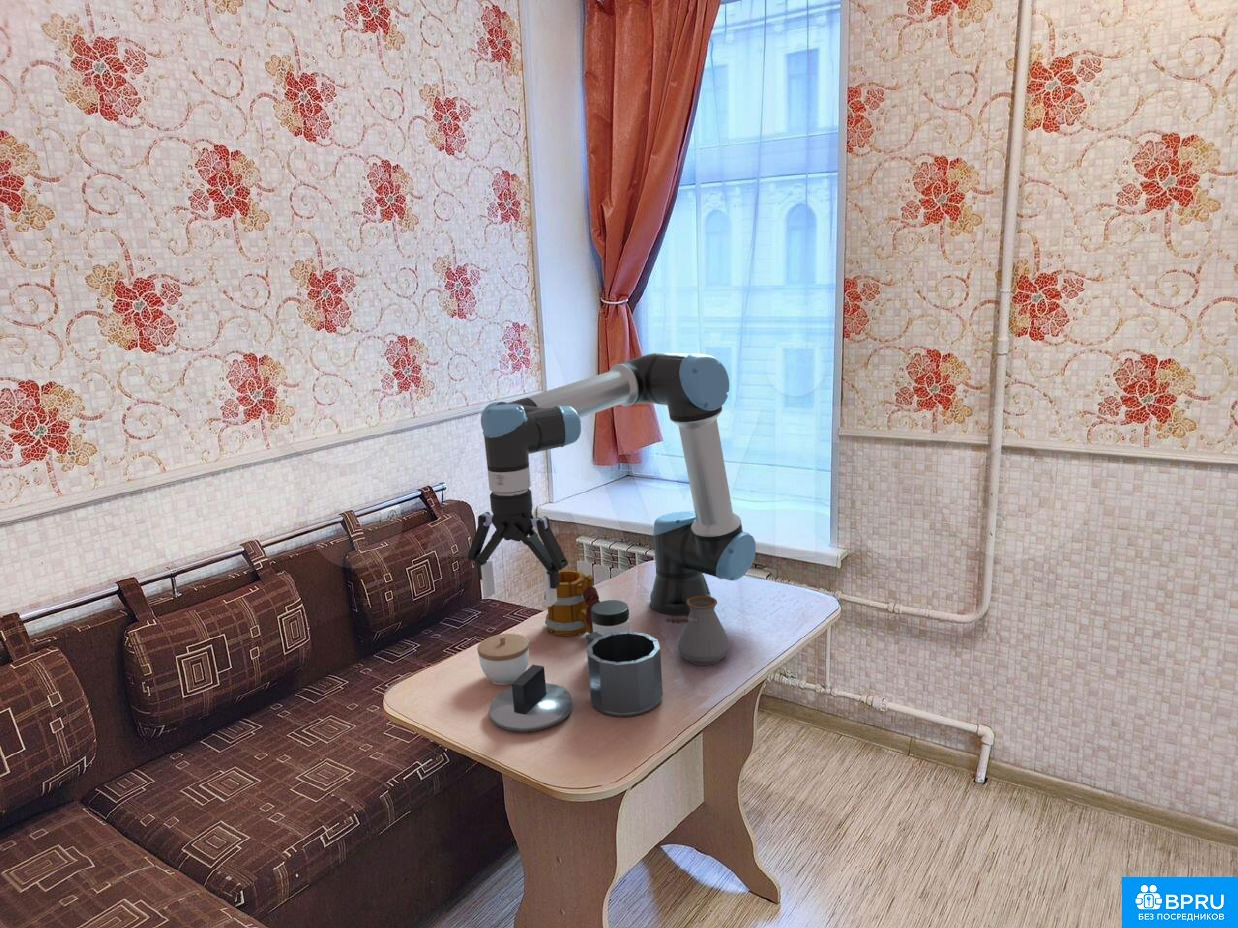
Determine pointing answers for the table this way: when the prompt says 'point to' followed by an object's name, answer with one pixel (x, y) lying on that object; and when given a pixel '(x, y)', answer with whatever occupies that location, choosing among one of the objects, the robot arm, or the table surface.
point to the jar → (610, 617)
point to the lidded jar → (504, 657)
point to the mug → (572, 604)
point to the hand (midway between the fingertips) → (520, 599)
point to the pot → (624, 673)
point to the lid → (530, 703)
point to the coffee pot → (701, 633)
